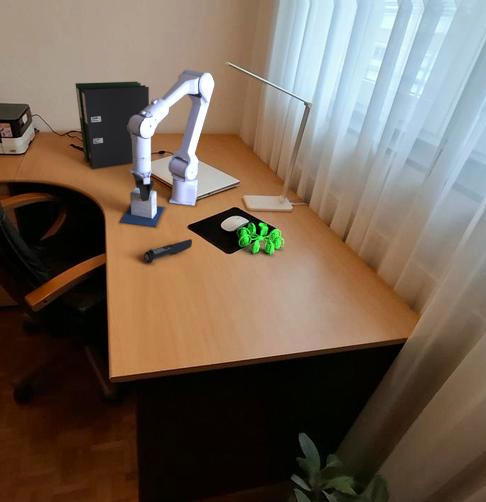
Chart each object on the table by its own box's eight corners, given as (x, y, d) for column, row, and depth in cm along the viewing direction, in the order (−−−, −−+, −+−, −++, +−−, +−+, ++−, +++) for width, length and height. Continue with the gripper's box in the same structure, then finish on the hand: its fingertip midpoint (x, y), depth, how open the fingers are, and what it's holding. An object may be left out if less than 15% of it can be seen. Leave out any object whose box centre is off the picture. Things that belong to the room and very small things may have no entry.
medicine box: (156, 213, 122) (156, 191, 117) (152, 219, 118) (151, 196, 113) (136, 209, 124) (135, 187, 119) (130, 215, 120) (129, 192, 115)
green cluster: (287, 238, 113) (291, 220, 109) (277, 262, 102) (282, 243, 98) (242, 226, 118) (245, 208, 114) (228, 249, 107) (231, 229, 103)
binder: (138, 151, 174) (136, 81, 155) (150, 161, 163) (150, 87, 145) (84, 158, 162) (75, 83, 144) (93, 169, 152) (84, 90, 134)
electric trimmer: (194, 250, 105) (195, 242, 103) (148, 264, 98) (148, 255, 96) (187, 244, 108) (188, 236, 106) (142, 258, 101) (142, 248, 99)
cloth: (164, 207, 126) (164, 207, 126) (155, 227, 115) (155, 226, 115) (132, 204, 127) (132, 203, 127) (120, 222, 116) (120, 222, 116)
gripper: (125, 148, 114) (127, 187, 121) (133, 165, 102) (134, 206, 110) (146, 147, 116) (147, 185, 123) (156, 163, 104) (156, 204, 112)
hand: (142, 195), depth 117 cm, fingers open, 7 cm apart
